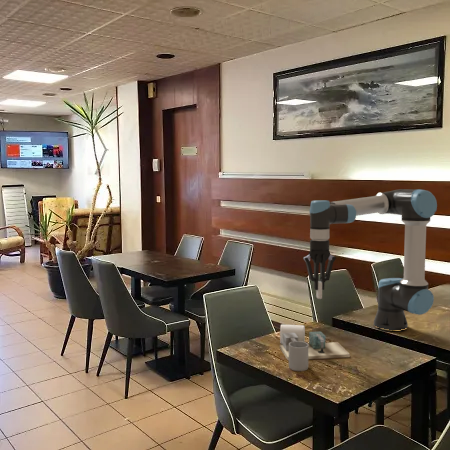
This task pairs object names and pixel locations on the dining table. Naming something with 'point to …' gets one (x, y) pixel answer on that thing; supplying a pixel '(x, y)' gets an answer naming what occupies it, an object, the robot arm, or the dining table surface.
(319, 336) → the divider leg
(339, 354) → the board
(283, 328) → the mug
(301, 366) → the cup
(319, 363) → the dining table surface
